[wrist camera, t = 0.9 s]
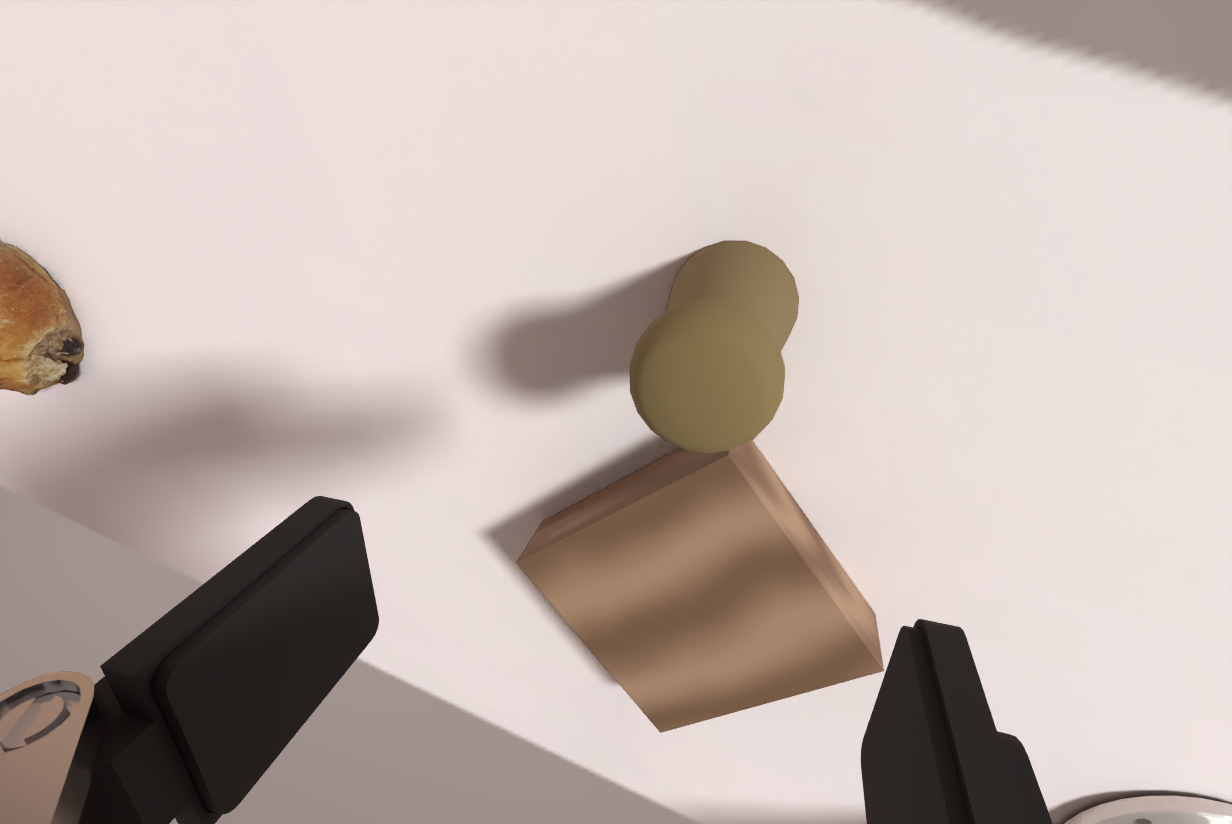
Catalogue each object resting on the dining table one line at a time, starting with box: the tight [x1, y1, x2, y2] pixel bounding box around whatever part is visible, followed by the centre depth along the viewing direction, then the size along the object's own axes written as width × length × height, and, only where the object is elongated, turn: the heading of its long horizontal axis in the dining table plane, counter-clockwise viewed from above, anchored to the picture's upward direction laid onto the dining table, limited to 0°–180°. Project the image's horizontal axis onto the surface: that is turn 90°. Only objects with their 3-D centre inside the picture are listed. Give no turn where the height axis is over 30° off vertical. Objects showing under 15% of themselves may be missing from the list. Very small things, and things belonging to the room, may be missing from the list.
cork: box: [630, 241, 799, 453], centre depth 24 cm, size 6×6×11 cm
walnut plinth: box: [516, 440, 884, 733], centre depth 34 cm, size 14×14×4 cm
